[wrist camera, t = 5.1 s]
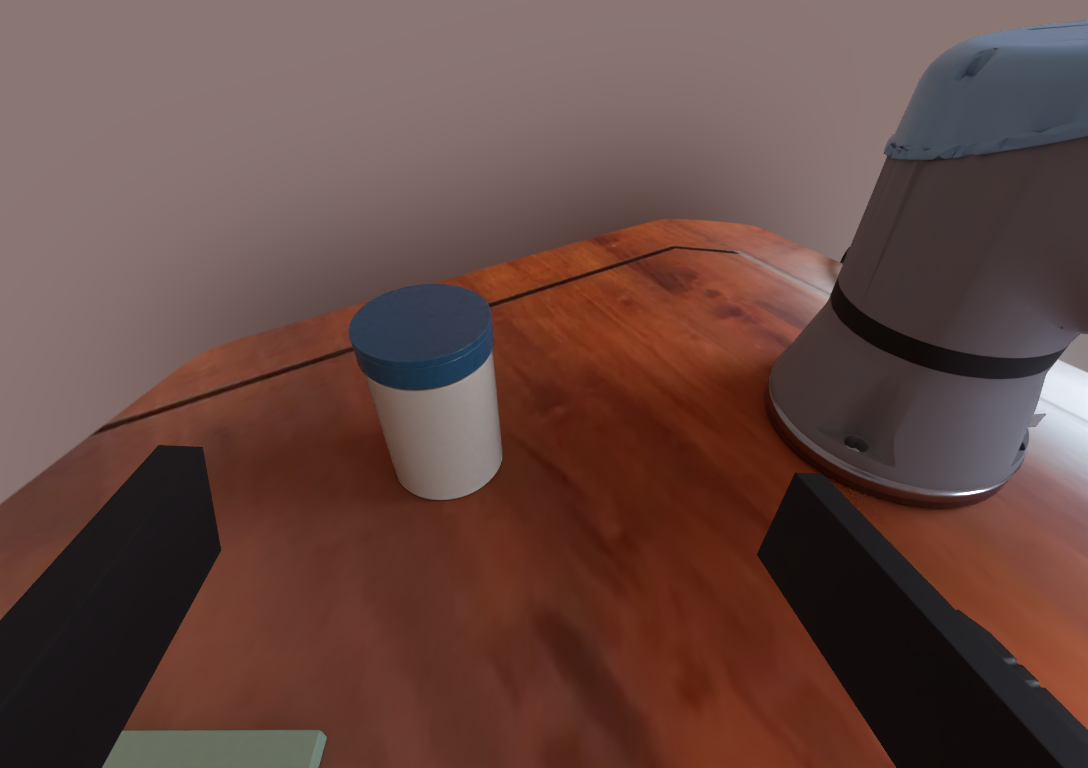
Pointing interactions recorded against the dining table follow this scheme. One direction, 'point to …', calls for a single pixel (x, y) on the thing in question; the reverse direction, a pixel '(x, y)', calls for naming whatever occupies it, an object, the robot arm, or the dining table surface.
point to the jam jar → (442, 434)
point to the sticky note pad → (217, 749)
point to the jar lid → (422, 336)
